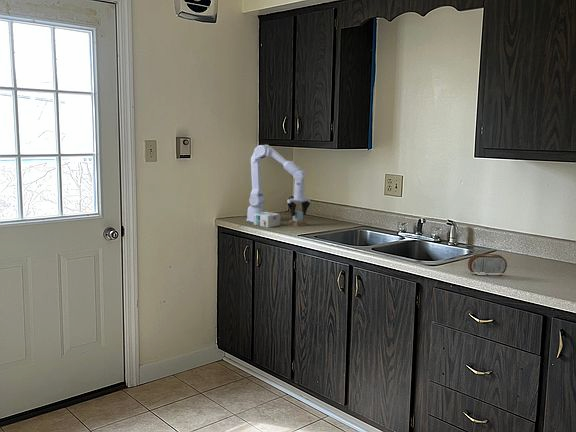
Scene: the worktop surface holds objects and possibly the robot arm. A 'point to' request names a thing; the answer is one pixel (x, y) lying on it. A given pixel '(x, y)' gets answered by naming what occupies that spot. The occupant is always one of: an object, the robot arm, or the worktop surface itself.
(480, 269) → the tin
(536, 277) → the worktop surface
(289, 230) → the worktop surface
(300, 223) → the walnut slab
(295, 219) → the blue block
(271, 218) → the light bulb box
